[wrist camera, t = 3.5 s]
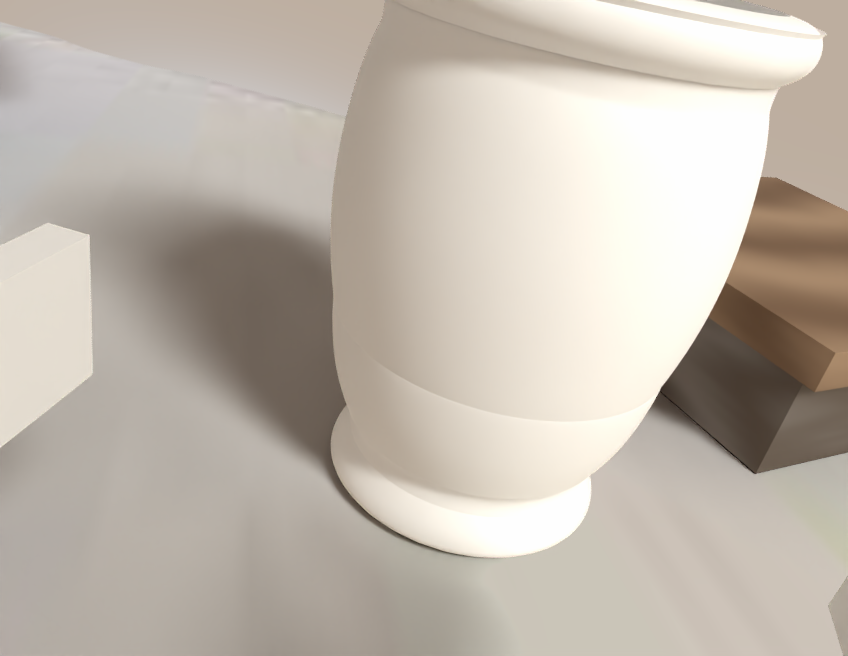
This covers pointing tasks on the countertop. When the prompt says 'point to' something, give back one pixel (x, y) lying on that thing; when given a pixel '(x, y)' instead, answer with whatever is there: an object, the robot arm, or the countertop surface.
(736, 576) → the countertop surface
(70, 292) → the robot arm
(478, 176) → the jar
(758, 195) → the stand
